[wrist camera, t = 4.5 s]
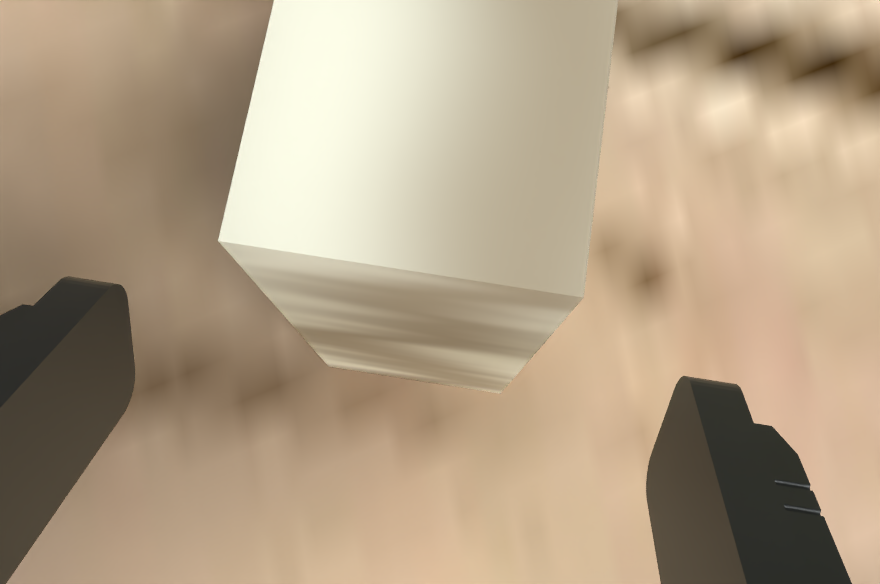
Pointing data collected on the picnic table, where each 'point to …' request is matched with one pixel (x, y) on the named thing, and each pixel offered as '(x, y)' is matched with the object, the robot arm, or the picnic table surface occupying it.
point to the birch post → (423, 178)
